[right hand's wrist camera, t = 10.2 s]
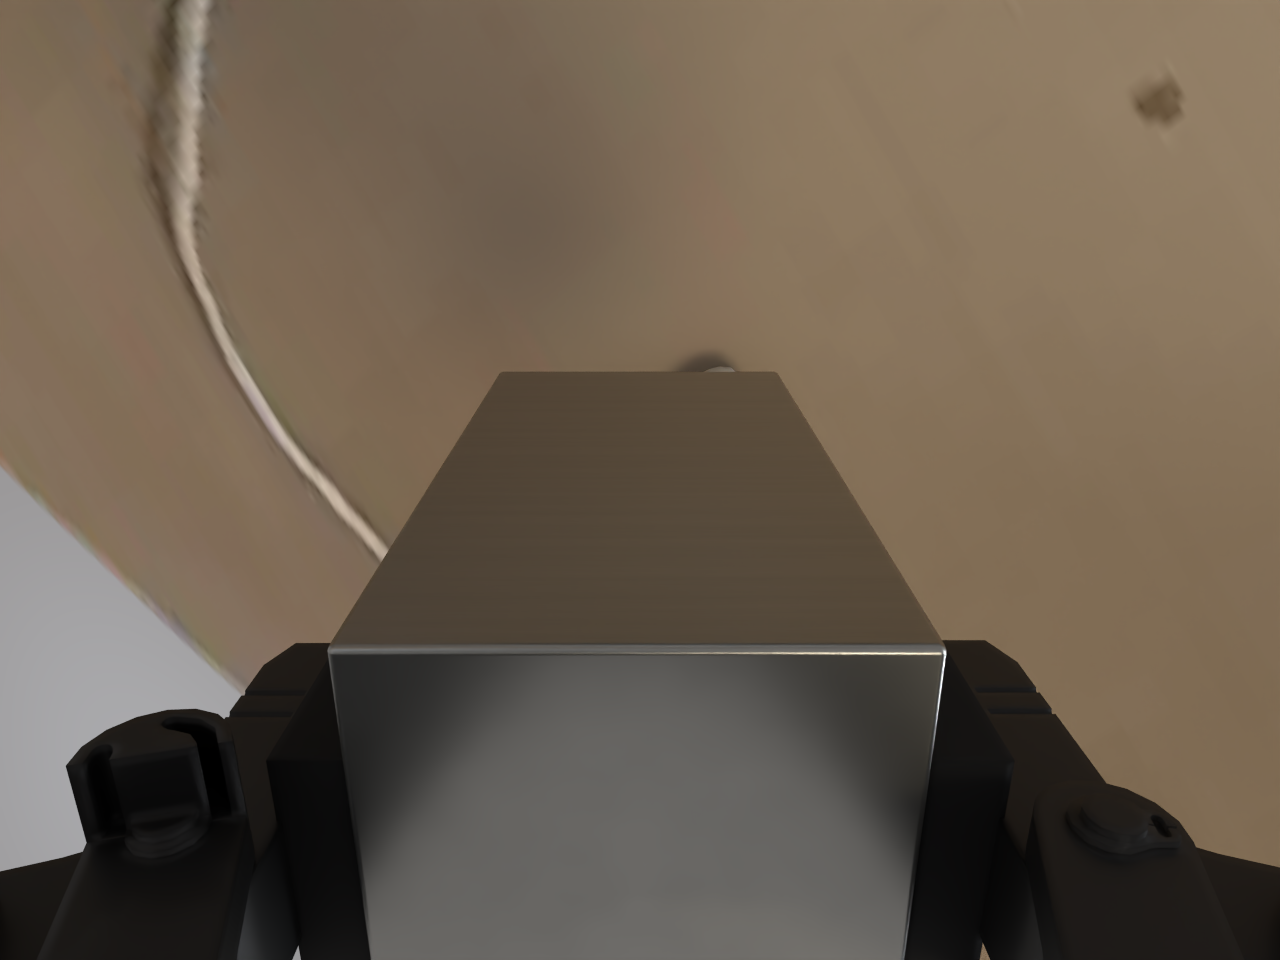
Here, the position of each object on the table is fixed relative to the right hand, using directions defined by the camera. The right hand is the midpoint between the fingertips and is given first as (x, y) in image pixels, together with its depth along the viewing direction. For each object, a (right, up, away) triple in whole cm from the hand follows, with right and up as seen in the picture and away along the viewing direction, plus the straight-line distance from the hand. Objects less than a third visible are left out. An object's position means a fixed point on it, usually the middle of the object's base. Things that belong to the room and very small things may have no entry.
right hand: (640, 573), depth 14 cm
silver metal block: (0, +1, +3) cm, 3 cm away
